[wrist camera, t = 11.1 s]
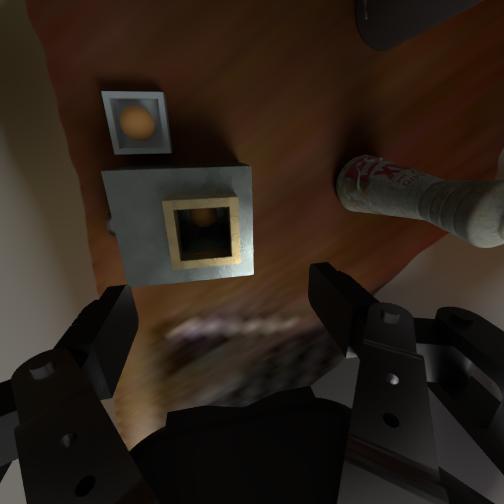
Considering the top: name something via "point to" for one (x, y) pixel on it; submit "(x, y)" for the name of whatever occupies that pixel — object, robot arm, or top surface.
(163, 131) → the bead dish
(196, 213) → the bead
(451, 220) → the bottle
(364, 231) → the top surface
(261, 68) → the top surface
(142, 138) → the bead
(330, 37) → the top surface
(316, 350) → the top surface
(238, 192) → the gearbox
